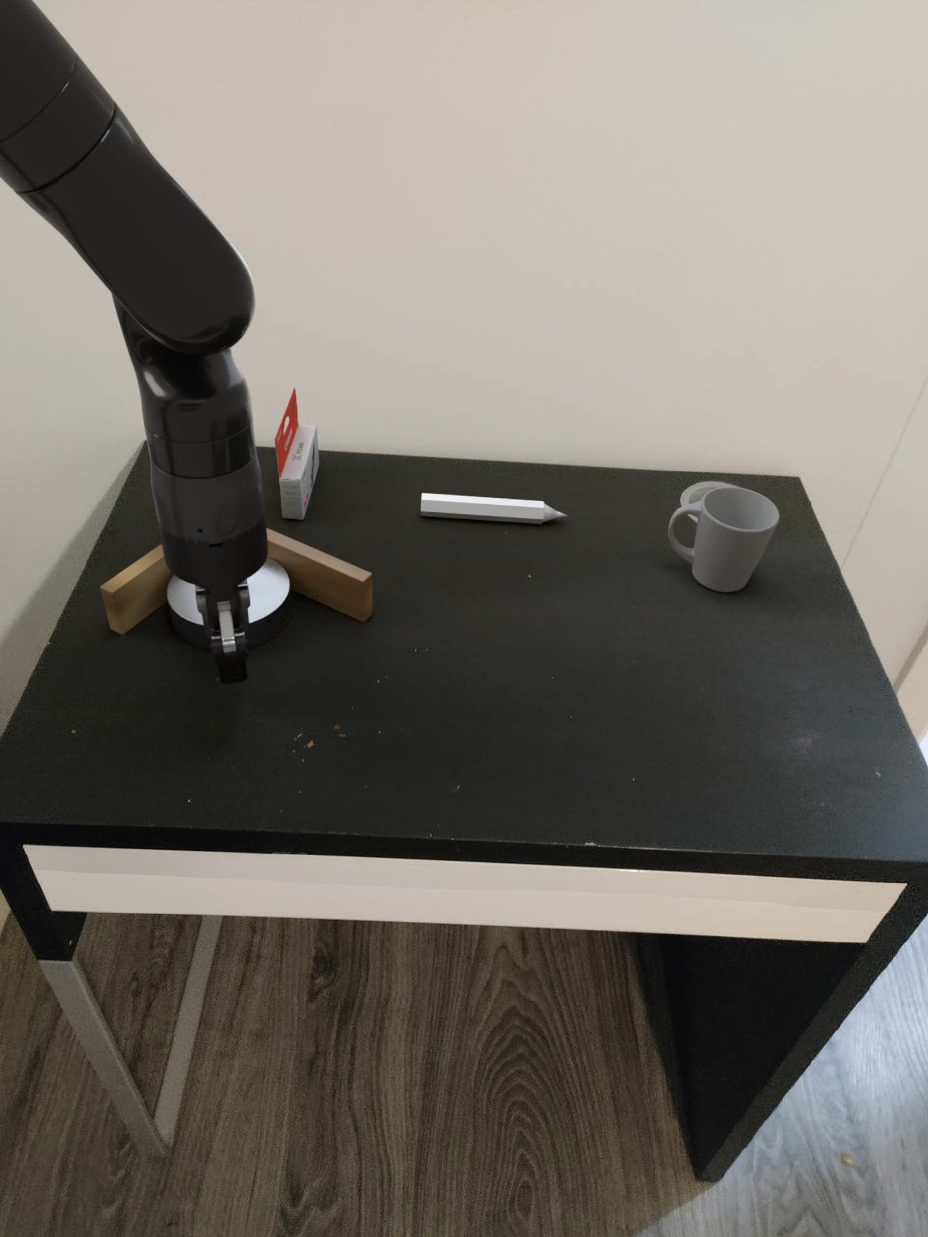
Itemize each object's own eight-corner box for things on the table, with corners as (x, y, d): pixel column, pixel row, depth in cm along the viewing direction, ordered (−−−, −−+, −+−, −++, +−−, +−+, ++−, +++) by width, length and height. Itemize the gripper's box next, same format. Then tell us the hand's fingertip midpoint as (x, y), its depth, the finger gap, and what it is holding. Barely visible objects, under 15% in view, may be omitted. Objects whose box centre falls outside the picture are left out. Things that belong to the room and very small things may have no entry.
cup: (756, 606, 93) (781, 537, 87) (656, 587, 94) (674, 518, 88) (756, 560, 98) (779, 493, 93) (661, 543, 100) (678, 476, 94)
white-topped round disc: (238, 668, 82) (235, 643, 80) (145, 621, 86) (140, 596, 84) (315, 601, 89) (314, 577, 87) (226, 560, 93) (223, 536, 91)
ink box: (320, 464, 107) (316, 387, 100) (303, 521, 98) (298, 441, 92) (298, 462, 107) (293, 385, 100) (280, 519, 98) (273, 439, 92)
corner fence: (272, 712, 78) (267, 670, 75) (110, 629, 84) (99, 586, 81) (372, 614, 88) (372, 573, 85) (221, 546, 94) (215, 505, 91)
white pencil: (566, 528, 102) (420, 518, 101) (566, 511, 102) (421, 500, 102) (570, 518, 99) (420, 507, 99) (570, 500, 100) (422, 489, 99)
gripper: (153, 460, 70) (183, 630, 81) (158, 568, 61) (192, 743, 72) (254, 452, 72) (269, 619, 83) (275, 556, 62) (289, 728, 74)
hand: (233, 676), depth 78 cm, fingers closed
